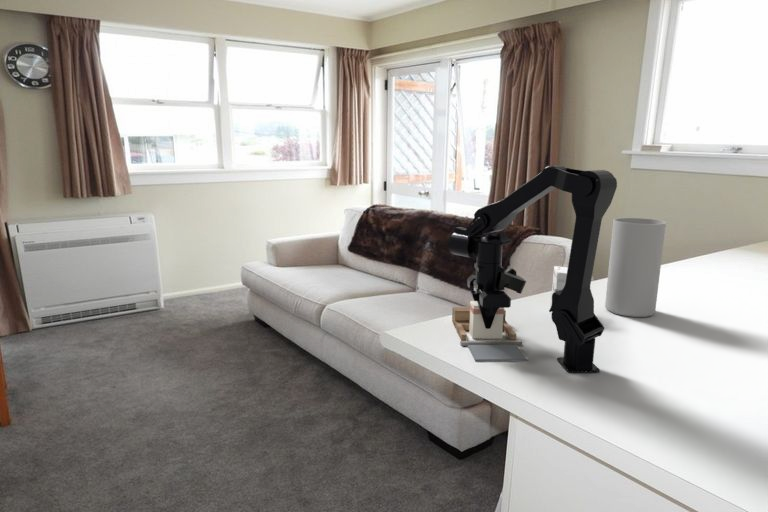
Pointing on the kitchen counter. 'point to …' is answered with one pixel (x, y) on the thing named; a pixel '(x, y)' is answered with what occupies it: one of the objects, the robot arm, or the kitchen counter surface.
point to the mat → (496, 353)
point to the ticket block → (478, 326)
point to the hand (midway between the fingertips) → (485, 325)
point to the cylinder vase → (634, 266)
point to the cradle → (463, 321)
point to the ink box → (558, 279)
